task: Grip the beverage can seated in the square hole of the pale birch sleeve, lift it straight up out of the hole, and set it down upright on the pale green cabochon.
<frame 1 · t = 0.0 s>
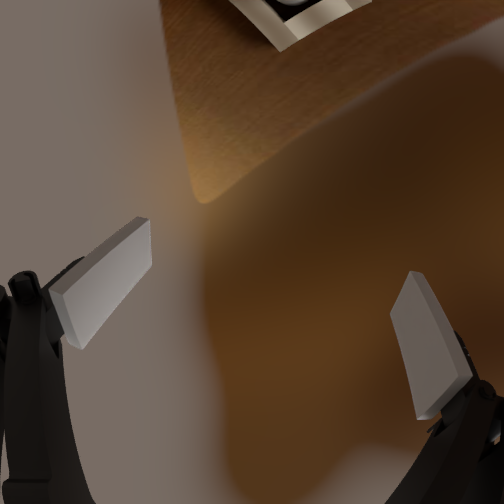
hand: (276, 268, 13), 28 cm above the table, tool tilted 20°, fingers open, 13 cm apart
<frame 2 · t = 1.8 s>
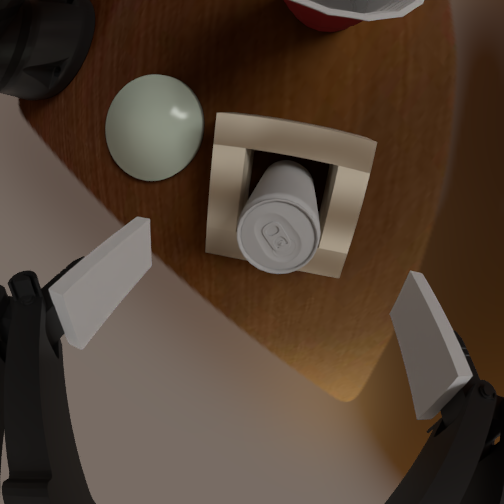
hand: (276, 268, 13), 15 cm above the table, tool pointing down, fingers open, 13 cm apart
beverage can: (287, 183, 26), resting in birch sleeve
birch sleeve: (287, 183, 26), on the table
plastic cup: (326, 8, 17), on the table
pale green cabochon: (153, 127, 25), on the table
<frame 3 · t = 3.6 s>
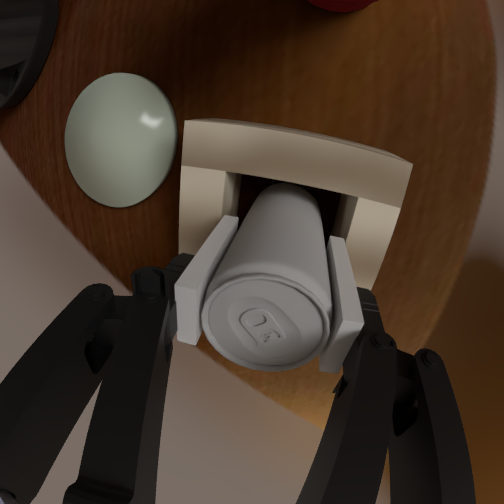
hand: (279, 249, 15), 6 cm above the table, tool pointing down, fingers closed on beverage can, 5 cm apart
beverage can: (286, 212, 20), resting in birch sleeve, touching gripper
birch sleeve: (286, 213, 20), on the table
pale green cabochon: (117, 139, 19), on the table
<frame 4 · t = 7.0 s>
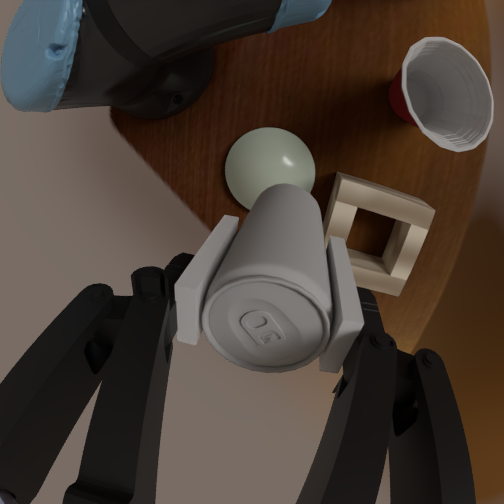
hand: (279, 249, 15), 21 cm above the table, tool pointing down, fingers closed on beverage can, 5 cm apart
beverage can: (286, 213, 20), point 15 cm above the table, touching gripper
birch sleeve: (367, 228, 35), on the table
plastic cup: (409, 100, 26), on the table
pale green cabochon: (270, 170, 34), on the table
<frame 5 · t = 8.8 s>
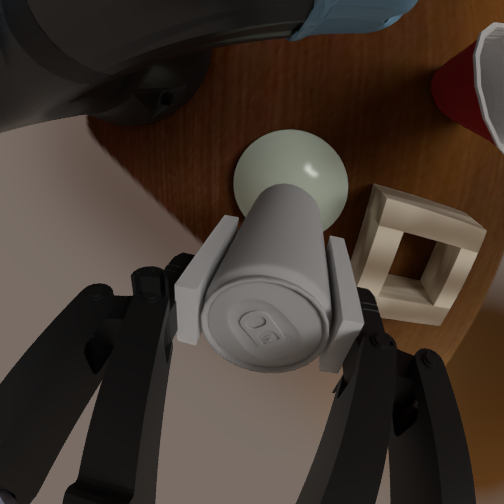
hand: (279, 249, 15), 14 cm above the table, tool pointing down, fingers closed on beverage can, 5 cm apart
beverage can: (286, 213, 20), point 8 cm above the table, touching gripper
birch sleeve: (406, 248, 28), on the table
plastic cup: (453, 94, 19), on the table
pale green cabochon: (291, 184, 27), on the table
when the fingers open (8 cm above the table, at t = 10.5 s): beverage can drops 1 cm, resting on pale green cabochon.
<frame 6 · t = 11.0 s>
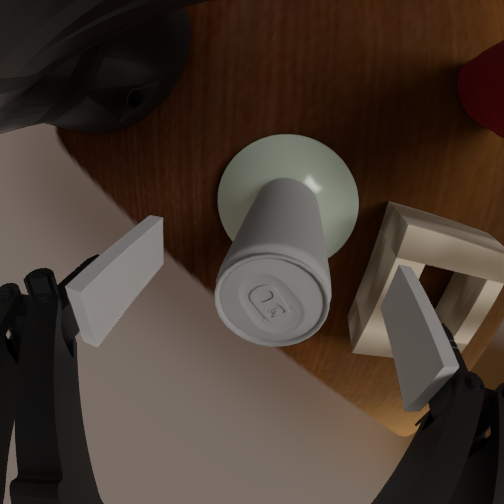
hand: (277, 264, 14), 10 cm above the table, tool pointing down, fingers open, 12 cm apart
beverage can: (286, 205, 21), point 1 cm above the table, touching pale green cabochon
birch sleeve: (422, 276, 23), on the table
plastic cup: (482, 95, 14), on the table
pale green cabochon: (288, 202, 22), on the table
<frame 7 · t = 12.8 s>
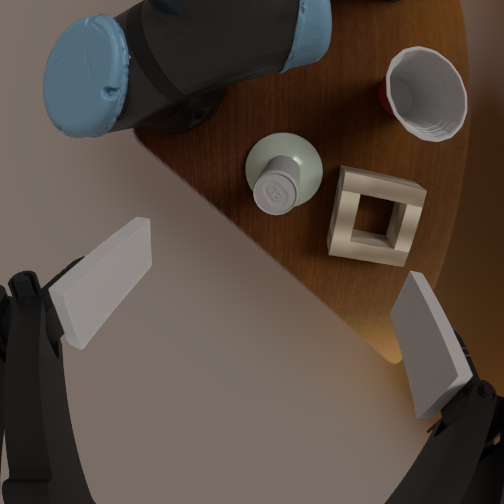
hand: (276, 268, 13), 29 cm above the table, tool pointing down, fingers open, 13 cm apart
beverage can: (283, 170, 39), point 1 cm above the table, touching pale green cabochon
birch sleeve: (371, 210, 40), on the table
plastic cup: (397, 97, 31), on the table
pale green cabochon: (284, 169, 39), on the table
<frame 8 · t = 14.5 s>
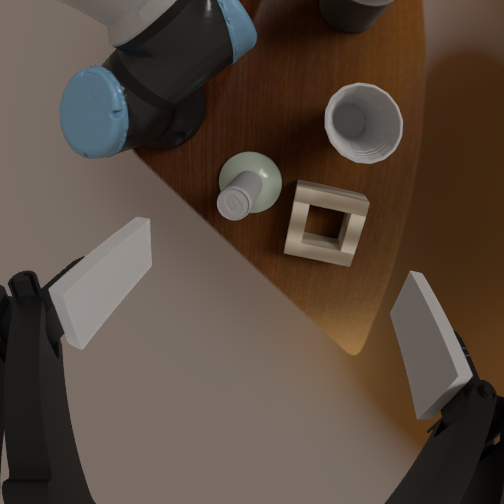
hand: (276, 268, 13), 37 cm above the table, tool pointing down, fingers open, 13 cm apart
beverage can: (249, 182, 48), point 1 cm above the table, touching pale green cabochon
pillar candle: (348, 10, 31), on the table
birch sleeve: (324, 217, 49), on the table
plastic cup: (350, 121, 41), on the table
pale green cabochon: (250, 181, 49), on the table
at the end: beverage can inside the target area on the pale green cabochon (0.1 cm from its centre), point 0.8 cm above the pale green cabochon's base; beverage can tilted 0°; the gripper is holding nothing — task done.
